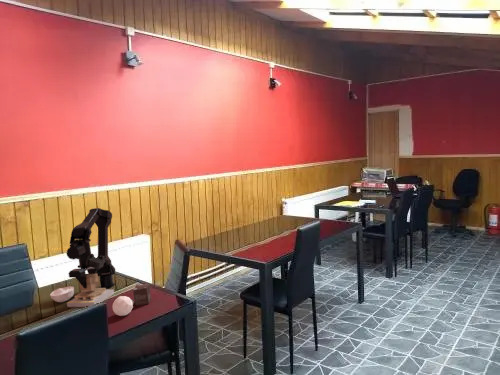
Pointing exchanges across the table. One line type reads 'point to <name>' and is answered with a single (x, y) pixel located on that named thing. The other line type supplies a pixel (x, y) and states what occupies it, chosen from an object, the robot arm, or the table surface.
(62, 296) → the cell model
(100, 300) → the dock
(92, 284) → the crate
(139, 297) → the box
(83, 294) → the pallet
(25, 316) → the table surface
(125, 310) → the pale pink ovoid
